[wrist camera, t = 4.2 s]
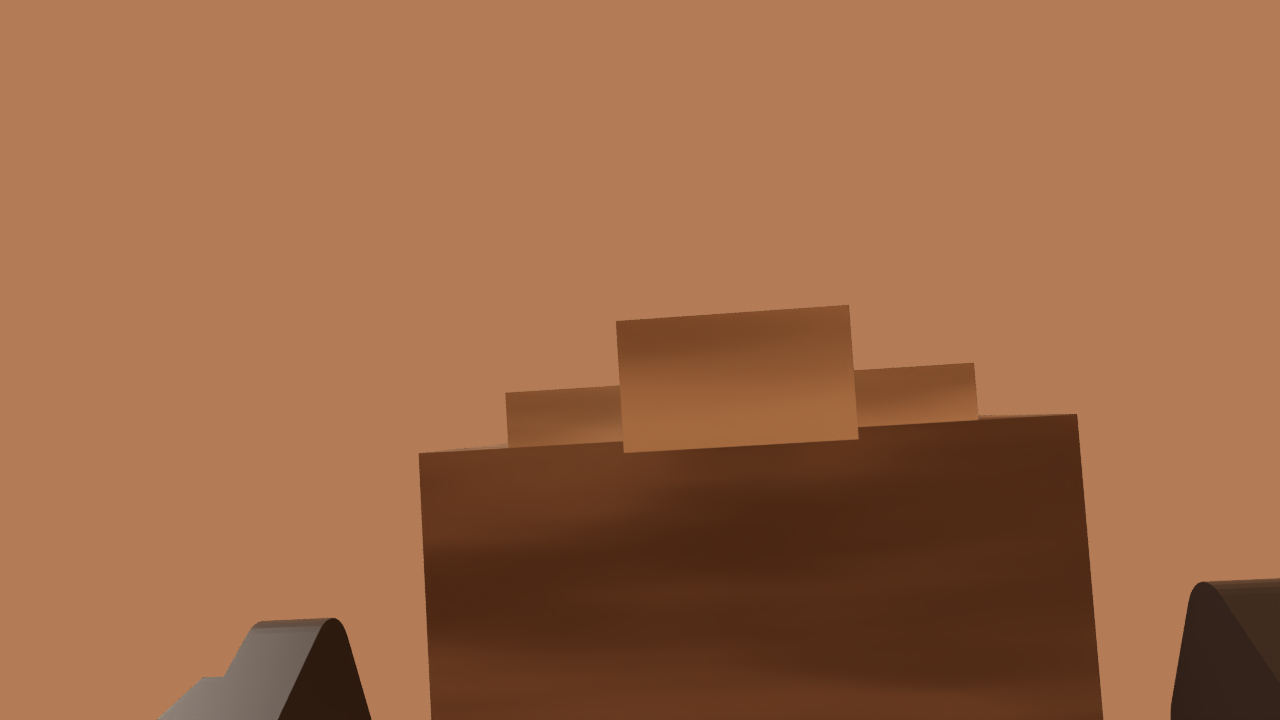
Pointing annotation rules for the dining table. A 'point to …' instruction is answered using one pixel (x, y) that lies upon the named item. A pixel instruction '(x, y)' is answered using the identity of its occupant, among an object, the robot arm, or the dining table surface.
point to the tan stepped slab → (740, 387)
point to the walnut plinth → (765, 578)
